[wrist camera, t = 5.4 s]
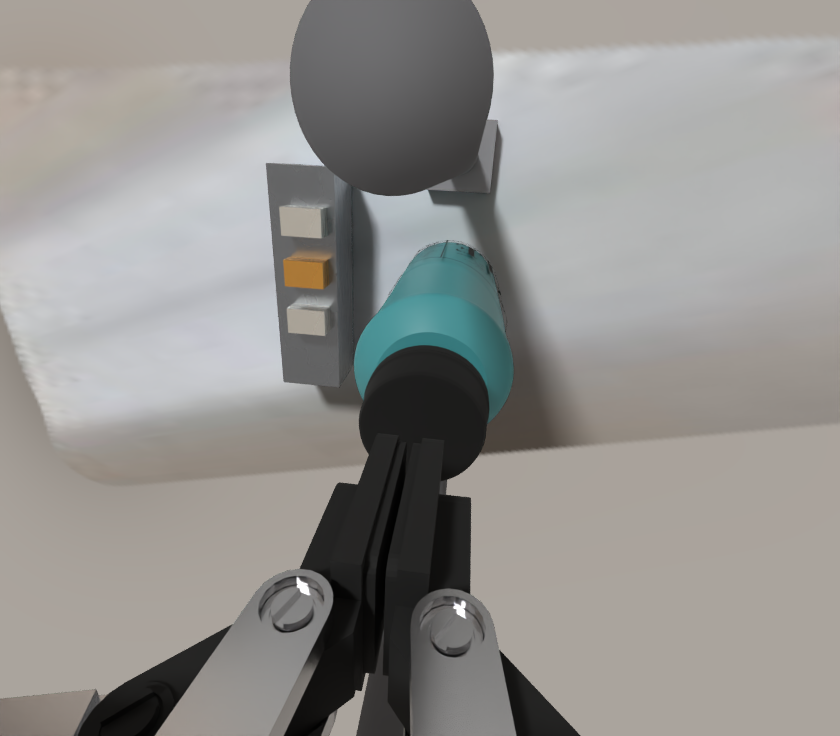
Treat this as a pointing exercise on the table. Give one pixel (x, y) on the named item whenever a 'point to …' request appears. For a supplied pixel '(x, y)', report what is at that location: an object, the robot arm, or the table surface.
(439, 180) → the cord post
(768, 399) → the table surface
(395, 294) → the beverage bottle
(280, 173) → the pdu strip
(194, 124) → the table surface
